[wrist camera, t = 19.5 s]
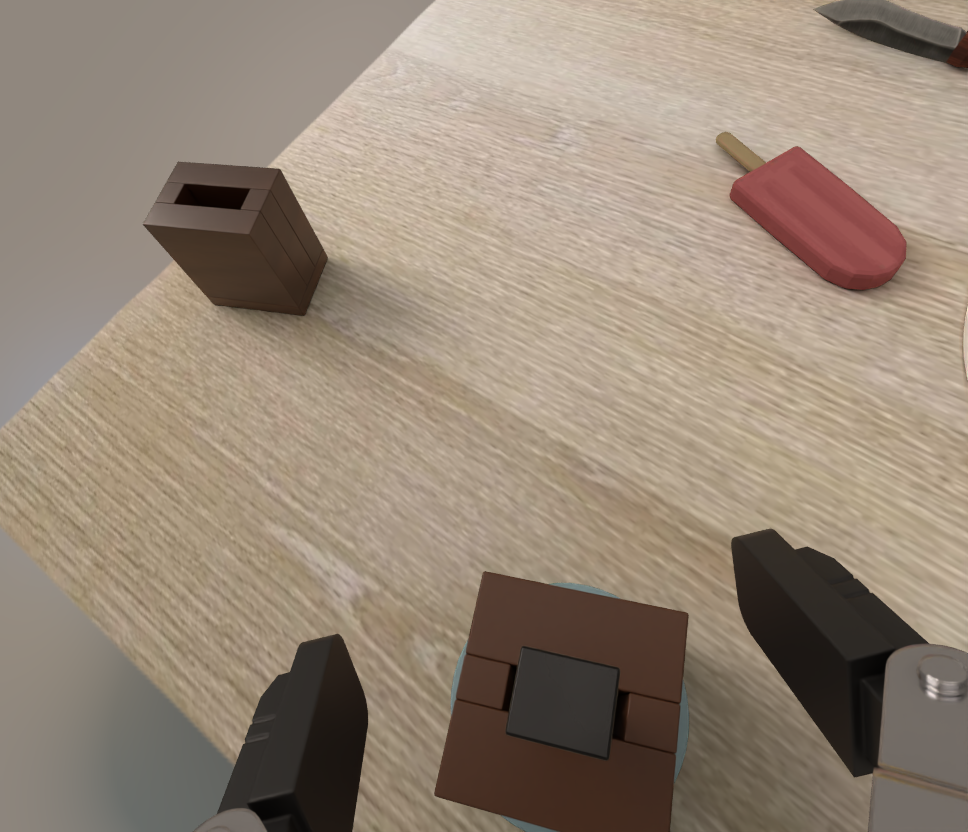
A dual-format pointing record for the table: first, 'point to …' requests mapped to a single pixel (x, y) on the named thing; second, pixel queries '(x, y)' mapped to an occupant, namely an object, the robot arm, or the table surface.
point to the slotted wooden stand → (554, 772)
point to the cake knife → (564, 702)
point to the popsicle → (817, 216)
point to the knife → (900, 29)
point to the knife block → (239, 236)
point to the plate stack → (966, 342)
